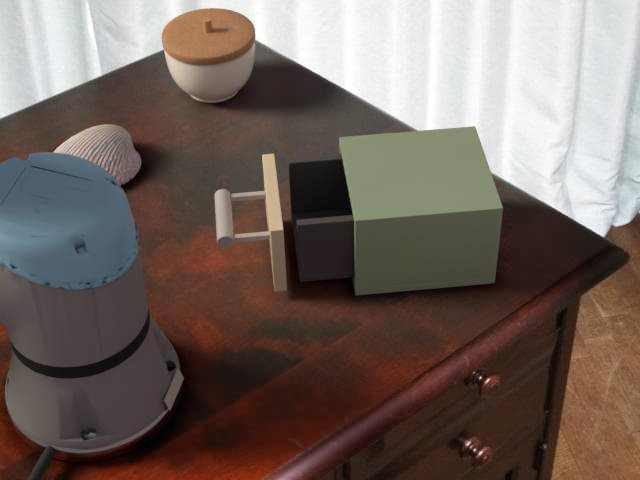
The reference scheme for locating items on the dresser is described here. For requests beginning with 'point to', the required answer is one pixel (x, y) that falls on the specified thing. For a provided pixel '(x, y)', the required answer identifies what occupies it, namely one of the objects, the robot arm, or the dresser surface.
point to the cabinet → (421, 210)
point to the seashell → (106, 150)
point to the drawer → (300, 219)
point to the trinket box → (210, 52)
